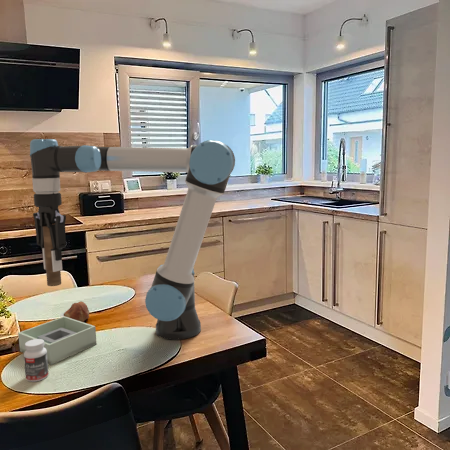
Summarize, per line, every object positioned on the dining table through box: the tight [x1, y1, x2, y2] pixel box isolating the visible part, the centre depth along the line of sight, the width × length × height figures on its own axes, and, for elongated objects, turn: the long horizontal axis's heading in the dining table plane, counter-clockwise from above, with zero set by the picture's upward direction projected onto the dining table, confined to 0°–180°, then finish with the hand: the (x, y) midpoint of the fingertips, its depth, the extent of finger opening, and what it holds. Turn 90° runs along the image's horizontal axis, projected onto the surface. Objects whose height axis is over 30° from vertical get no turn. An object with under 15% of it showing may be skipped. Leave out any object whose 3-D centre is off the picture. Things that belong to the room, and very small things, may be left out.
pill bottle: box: [23, 339, 49, 383], centre depth 114 cm, size 6×6×10 cm
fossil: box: [63, 301, 90, 323], centre depth 153 cm, size 13×8×10 cm
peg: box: [43, 226, 62, 287], centre depth 129 cm, size 4×4×18 cm
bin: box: [17, 315, 97, 366], centre depth 132 cm, size 16×16×6 cm
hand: (53, 269), depth 129 cm, fingers closed on peg, 4 cm apart
